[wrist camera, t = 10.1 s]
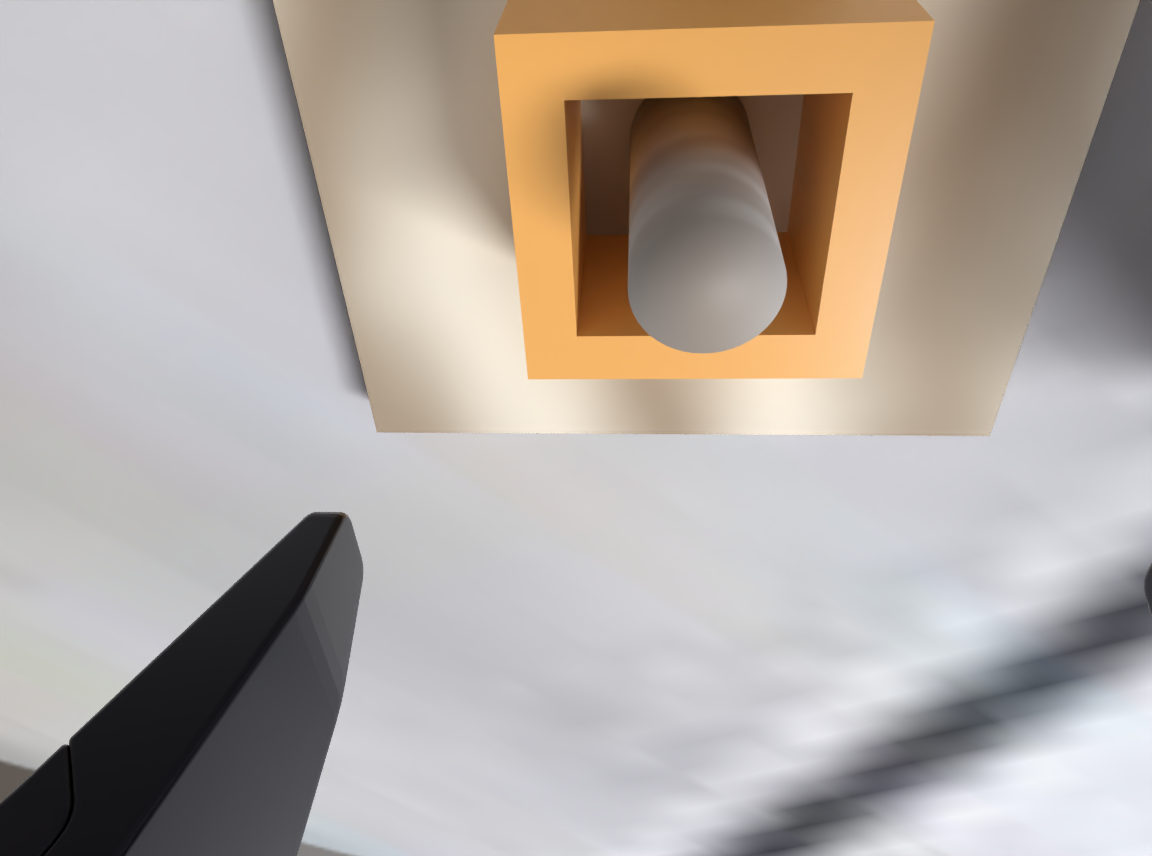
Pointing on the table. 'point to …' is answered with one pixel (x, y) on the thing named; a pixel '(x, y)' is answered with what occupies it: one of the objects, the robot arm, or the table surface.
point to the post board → (464, 244)
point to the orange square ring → (709, 69)
